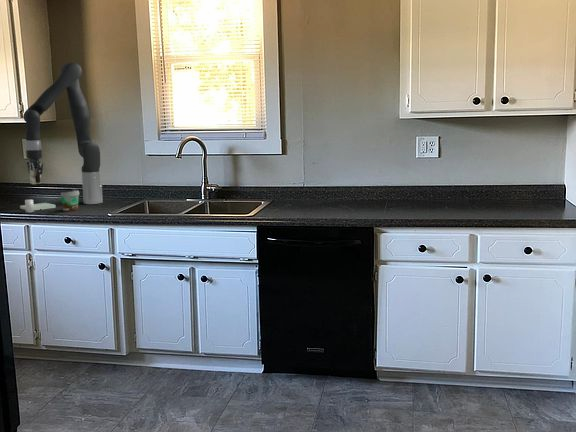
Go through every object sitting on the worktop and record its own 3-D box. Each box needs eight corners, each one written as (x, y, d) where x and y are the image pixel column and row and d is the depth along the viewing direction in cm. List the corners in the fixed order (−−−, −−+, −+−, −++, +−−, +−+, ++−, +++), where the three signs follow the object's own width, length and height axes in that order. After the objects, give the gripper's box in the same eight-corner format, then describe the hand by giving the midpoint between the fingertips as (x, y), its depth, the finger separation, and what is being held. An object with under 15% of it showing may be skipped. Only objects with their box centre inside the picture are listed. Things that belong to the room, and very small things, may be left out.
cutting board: (45, 205, 355) (45, 202, 355) (55, 207, 348) (55, 204, 347) (20, 208, 345) (20, 205, 345) (29, 210, 338) (29, 208, 337)
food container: (72, 212, 332) (71, 192, 330) (61, 212, 333) (60, 192, 331) (85, 208, 344) (83, 189, 342) (74, 208, 345) (73, 189, 343)
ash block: (38, 182, 347) (37, 169, 346) (41, 183, 344) (40, 170, 343) (30, 183, 344) (29, 170, 343) (34, 184, 341) (33, 170, 340)
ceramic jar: (31, 210, 338) (31, 199, 337) (35, 211, 335) (34, 200, 334) (24, 211, 335) (23, 200, 334) (27, 212, 332) (26, 200, 331)
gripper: (47, 149, 339) (49, 182, 342) (34, 148, 349) (36, 180, 352) (32, 150, 334) (35, 184, 336) (20, 148, 343) (22, 181, 346)
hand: (36, 182), depth 344 cm, fingers closed on ash block, 4 cm apart
